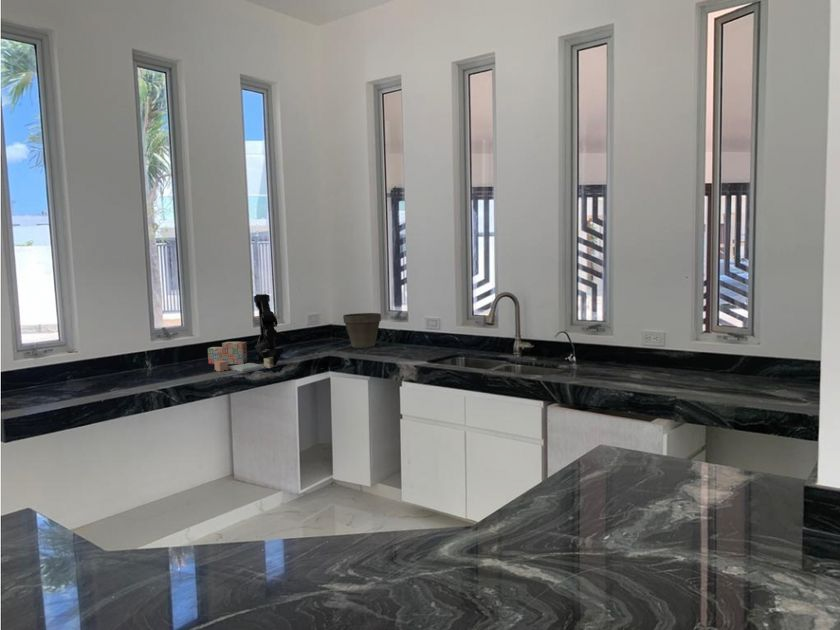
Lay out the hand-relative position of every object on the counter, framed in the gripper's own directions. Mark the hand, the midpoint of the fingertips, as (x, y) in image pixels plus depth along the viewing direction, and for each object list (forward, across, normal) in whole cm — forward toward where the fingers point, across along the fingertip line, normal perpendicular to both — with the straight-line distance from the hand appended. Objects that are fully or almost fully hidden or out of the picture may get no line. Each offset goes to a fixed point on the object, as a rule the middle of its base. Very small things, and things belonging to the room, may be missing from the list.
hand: (270, 364), depth 369 cm
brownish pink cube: (+1, -14, -22) cm, 26 cm away
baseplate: (+1, -8, -11) cm, 13 cm away
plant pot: (+1, -12, +83) cm, 84 cm away
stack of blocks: (+1, -33, -6) cm, 33 cm away
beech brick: (+1, 0, 0) cm, 1 cm away
